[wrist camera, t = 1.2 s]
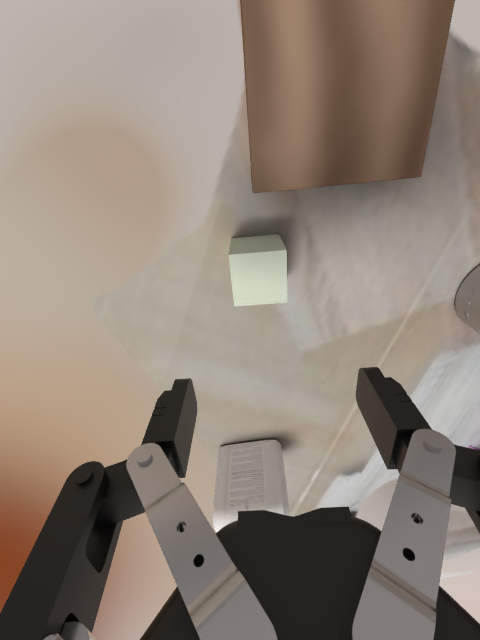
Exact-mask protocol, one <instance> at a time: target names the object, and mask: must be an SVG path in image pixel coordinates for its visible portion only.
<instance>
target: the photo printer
mask: <svg viewBox="0 0 480 640" xmlns="http://www.w3.org/2000/svg"><path fill="white" fill-rule="evenodd" d="M254 510H266V511H271V512H275V513H279V514H283V515H287V516H288V515H289V505H288V497H287V489H286V480H285V472H284V463H283V455H282V447H281V444H280V443H279V442H278V441H276V440H263V441H255V442H247V443H240V444H232V445H226V446H222V447H220V448H219V453H218V463H217V474H216V483H215V495H214V505H213V524H214V529H215V530H216V532H218V531H219V530H220V529H221V528H223V527H224V526H226V525H228V524H230V523H232V522H234V521H237V520H238V511H254Z"/></svg>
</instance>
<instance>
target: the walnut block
mask: <svg viewBox="0 0 480 640" xmlns="http://www.w3.org/2000/svg"><path fill="white" fill-rule="evenodd" d="M454 2H455V0H240V3H241V19H242V37H243V52H244V68H245V82H246V98H247V114H248V130H249V146H250V162H251V177H252V190H253V193H260V192H270V191H281V190H291V189H301V188H312V187H322V186H332V185H343V184H353V183H364V182H374V181H384V180H395V179H405V178H415V177H421V173H422V168H423V163H424V158H425V153H426V147H427V142H428V137H429V132H430V127H431V122H432V116H433V111H434V106H435V101H436V96H437V90H438V85H439V80H440V75H441V70H442V64H443V59H444V54H445V49H446V44H447V38H448V33H449V28H450V23H451V17H452V12H453V7H454Z"/></svg>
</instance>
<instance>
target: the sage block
mask: <svg viewBox="0 0 480 640" xmlns="http://www.w3.org/2000/svg"><path fill="white" fill-rule="evenodd" d="M229 262H230V271H231V280H232V289H233V298H234V306H246V305H259V304H273V303H286V302H287V249H286V247H285V245H284V243H283V241H282V239H281V237H280V235H279V234H275V235H263V236H252V237H240V238H231V243H230V250H229Z"/></svg>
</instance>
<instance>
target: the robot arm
mask: <svg viewBox="0 0 480 640" xmlns="http://www.w3.org/2000/svg"><path fill="white" fill-rule="evenodd" d="M455 310H456V312H457V315H458V317H459V318H460V319H461V320H462V321H463V322H464V323H466V324H467V325H469V326H470V327H471V328H473V329H474V330H475V331H477V332H478V333H479V334H480V265H479V266H478V267H477V268H476V269H474V270H473V271H472V272H471V273H470V274H469V275H468V276H467V277H466V279H465V280H464V281H463V283H462V284H461V286H460V288H459V290H458V292H457V295H456V300H455ZM356 400H357V404H358V407H359V409H360V411H361V413H362V415H363V417H364V420H365V422H366V424H367V426H368V428H369V430H370V432H371V435H372V437H373V439H374V441H375V443H376V445H377V448H378V450H379V452H380V454H381V456H382V458H383V460H384V463H385V465H386V467H387V469H398V471H399V473H400V475H399V478H398V481H397V484H396V488H395V491H394V494H393V497H392V501H391V504H390V507H389V510H388V513H387V516H386V520H385V523H384V526H383V529H382V531H380V530H379V529H378V528H376V527H374V526H373V525H371V524H370V523H368V522H366V521H363V520H361V519H358V518H356V517H352V516H351V513H350V510H349V507H331V508H319V509H316V510H313V511H310V512H307V513H304V514H301V515H299V516H295V517H292V516H287V515H283V514H279V513H275V512H271V511H266V510H254V511H238V520H237V521H234V522H232V523H230V524H228V525H226V526H224V527H223V528H221V529H220V530H219V531H218V532H217V533H216V534H215V532H214V531H213V529H212V527H211V526H210V524H209V522H208V521H207V519H206V517H205V516H204V514H203V512H202V511H201V509H200V508H199V506H198V504H197V502H196V501H195V499H194V497H193V496H192V494H191V492H190V491H189V489H188V488H187V486H186V485H185V483H182V482H181V481H180V479H179V478H185V475H186V470H187V465H188V459H189V453H190V448H191V443H192V438H193V432H194V427H195V421H196V416H197V401H196V397H195V392H194V388H193V383H192V380H191V379H176V380H175V381H174V384H173V387H172V390H170V391H164V392H163V393H162V395H161V396H160V397H159V398H158V400H157V402H156V405H155V409H154V411H153V413H152V417H151V419H150V422H149V425H148V427H147V430H146V433H145V436H144V439H143V441H142V444H141V446H139V447H138V448H136V449H135V450H134V451H133V452H132V453H131V454H130V455H129V457H128V459H127V460H125V461H122V462H120V463H117V464H114V465H111V466H108V467H105V468H104V467H103V465H102V464H101V463H99V462H95V461H92V462H87V463H85V464H82V465H81V466H79V467H78V468H76V469H75V470H74V471H73V472H72V473H71V474H70V475H69V477H68V478H67V480H66V482H65V484H64V486H63V488H62V490H61V492H60V494H59V496H58V498H57V500H56V502H55V504H54V506H53V508H52V510H51V512H50V514H49V516H48V518H47V520H46V522H45V525H44V526H43V528H42V530H41V532H40V534H39V536H38V538H37V541H36V542H35V545H34V547H33V549H32V550H31V553H30V555H29V557H28V559H27V561H26V563H25V565H24V567H23V569H22V571H21V573H20V575H19V577H18V579H17V581H16V583H15V585H14V587H13V589H12V591H11V593H10V595H9V597H8V599H7V601H6V603H5V605H4V607H3V609H2V611H1V613H0V640H97V638H96V637H95V636H94V635H93V634H92V630H93V627H94V623H95V620H96V616H97V612H98V609H99V605H100V602H101V598H102V595H103V591H104V587H105V584H106V580H107V577H108V573H109V570H110V566H111V562H112V559H113V555H114V552H115V548H116V545H117V541H118V537H119V534H120V530H121V527H122V523H123V520H126V519H129V518H131V517H134V516H136V515H139V514H141V513H144V512H146V514H147V516H148V519H149V521H150V524H151V526H152V528H153V531H154V533H155V535H156V537H157V540H158V542H159V544H160V547H161V549H162V551H163V554H164V556H165V558H166V561H167V563H168V565H169V568H170V570H171V572H172V575H173V577H174V579H175V582H176V584H177V587H176V589H175V590H174V592H173V593H172V595H171V596H170V597H169V599H168V600H167V602H166V603H165V605H164V606H163V607H162V609H161V610H160V612H159V613H158V614H157V616H156V617H155V619H154V620H153V622H152V623H151V624H150V626H149V627H148V629H147V630H146V632H145V633H144V635H143V636H142V637H141V639H140V640H480V624H479V623H478V622H477V621H476V620H475V619H474V618H473V617H472V616H471V615H470V614H469V613H468V612H466V610H465V609H463V608H462V607H461V606H460V605H459V604H458V603H457V602H456V601H455V600H454V599H453V598H452V597H451V596H450V595H449V594H447V592H446V591H444V590H443V589H442V588H441V587H440V586H439V582H440V575H441V568H442V562H443V555H444V549H445V542H446V535H447V528H448V522H449V515H450V508H451V504H454V505H458V506H461V507H465V508H466V510H467V512H468V514H469V515H470V517H471V519H472V521H473V522H474V524H475V526H476V528H477V529H478V531H479V533H480V450H476V449H471V448H466V447H461V446H457V445H454V444H453V443H452V442H451V441H450V440H449V439H448V438H447V437H446V436H444V435H443V434H441V433H439V432H437V431H434V430H432V429H431V427H430V426H429V425H428V423H427V422H426V420H425V419H424V417H423V416H422V415H421V413H420V412H419V410H418V409H417V407H416V406H415V404H414V403H412V400H411V399H410V397H409V396H408V395H407V393H406V392H405V390H404V389H403V387H402V386H401V385H400V384H399V383H398V382H396V381H395V380H394V379H392V378H391V377H388V378H385V377H384V376H383V374H382V373H381V371H380V369H379V368H378V367H369V368H360V369H359V373H358V381H357V388H356Z"/></svg>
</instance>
